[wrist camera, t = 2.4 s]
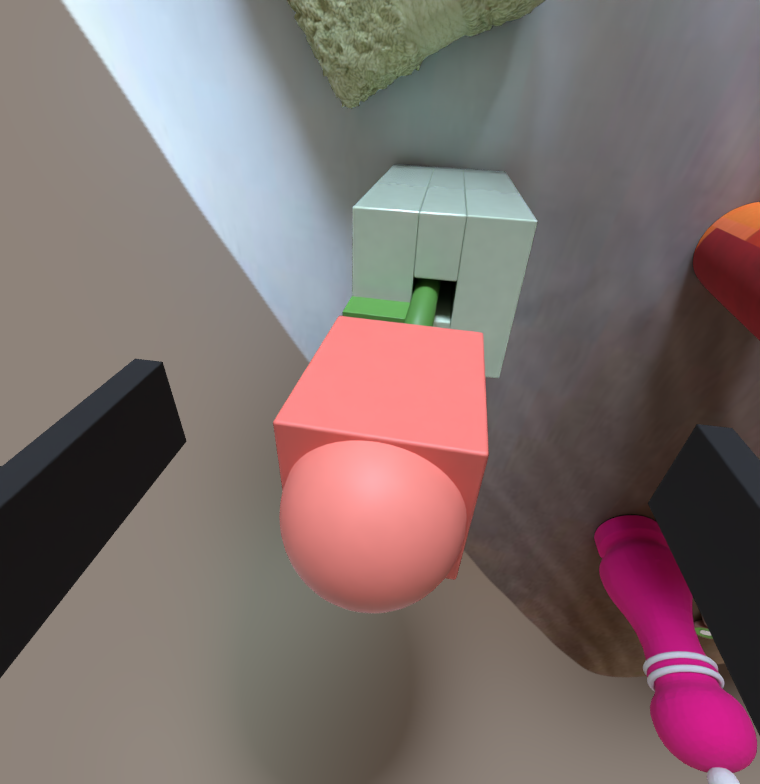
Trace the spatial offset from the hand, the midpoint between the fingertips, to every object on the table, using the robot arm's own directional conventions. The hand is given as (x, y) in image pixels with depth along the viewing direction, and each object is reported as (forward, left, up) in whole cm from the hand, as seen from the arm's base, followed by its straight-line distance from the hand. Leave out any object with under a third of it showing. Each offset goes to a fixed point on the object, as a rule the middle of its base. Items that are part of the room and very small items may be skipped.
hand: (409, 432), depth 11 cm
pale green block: (0, 0, -22) cm, 22 cm away
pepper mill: (-30, +20, -22) cm, 42 cm away
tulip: (0, 0, -21) cm, 21 cm away
